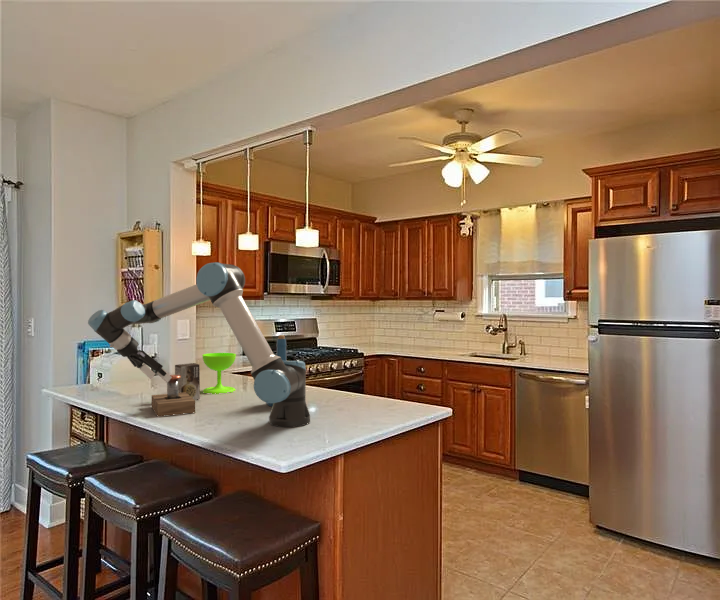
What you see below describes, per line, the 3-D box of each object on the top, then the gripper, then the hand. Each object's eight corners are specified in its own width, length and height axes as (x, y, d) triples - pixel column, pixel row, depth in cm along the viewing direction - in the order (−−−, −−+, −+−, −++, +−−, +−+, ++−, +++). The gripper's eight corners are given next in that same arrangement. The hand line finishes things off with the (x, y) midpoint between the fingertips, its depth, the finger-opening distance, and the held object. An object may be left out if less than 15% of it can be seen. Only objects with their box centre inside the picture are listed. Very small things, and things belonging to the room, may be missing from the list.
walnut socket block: (195, 412, 213) (195, 400, 213) (158, 416, 206) (158, 403, 206) (186, 403, 230) (186, 392, 230) (151, 406, 224) (151, 395, 224)
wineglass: (221, 387, 272) (221, 352, 272) (242, 390, 263) (242, 354, 263) (195, 391, 259) (195, 354, 259) (216, 395, 250) (216, 357, 250)
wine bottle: (259, 405, 229) (259, 335, 228) (283, 400, 238) (283, 333, 238) (279, 409, 219) (279, 337, 219) (303, 405, 229) (304, 335, 229)
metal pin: (182, 408, 217) (182, 376, 217) (165, 409, 214) (165, 377, 214) (179, 405, 223) (179, 374, 222) (163, 406, 220) (163, 375, 219)
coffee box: (193, 397, 244) (193, 362, 244) (200, 399, 239) (200, 364, 239) (174, 400, 238) (174, 364, 237) (181, 402, 233) (181, 365, 233)
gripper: (103, 348, 210) (140, 382, 222) (131, 353, 194) (170, 389, 205) (116, 334, 214) (152, 368, 226) (145, 337, 198) (182, 374, 209)
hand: (161, 378), depth 215 cm, fingers open, 13 cm apart
